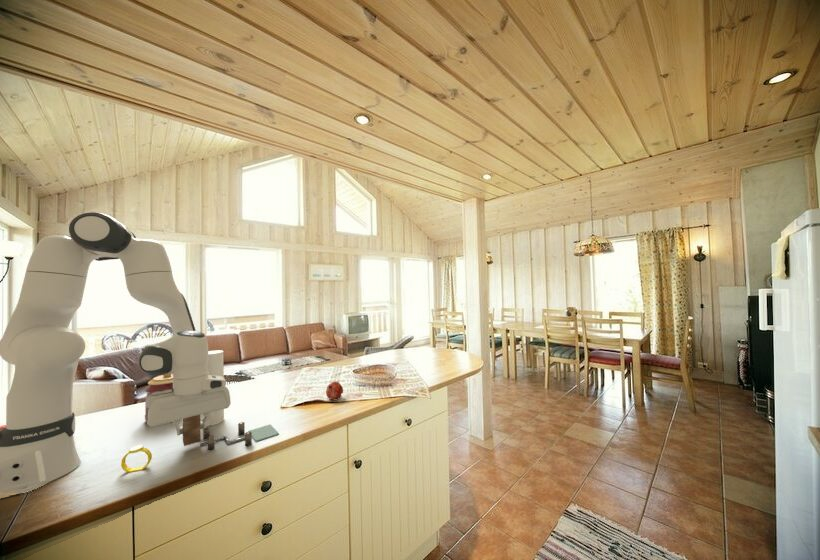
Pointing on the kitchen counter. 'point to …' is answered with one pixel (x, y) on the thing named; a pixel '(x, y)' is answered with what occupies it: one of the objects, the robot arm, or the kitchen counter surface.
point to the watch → (134, 450)
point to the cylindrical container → (216, 369)
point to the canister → (158, 387)
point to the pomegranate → (334, 390)
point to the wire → (225, 440)
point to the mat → (263, 433)
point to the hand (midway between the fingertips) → (191, 430)
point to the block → (191, 430)
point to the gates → (240, 432)
